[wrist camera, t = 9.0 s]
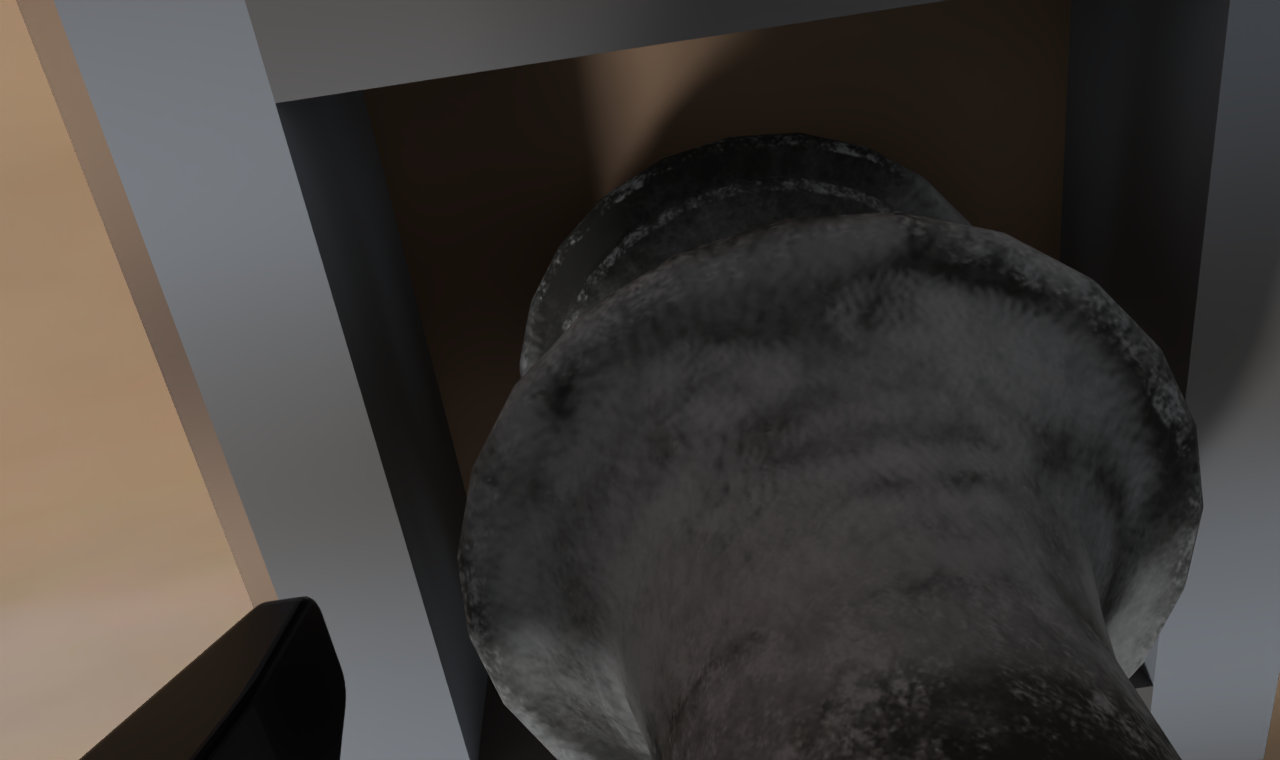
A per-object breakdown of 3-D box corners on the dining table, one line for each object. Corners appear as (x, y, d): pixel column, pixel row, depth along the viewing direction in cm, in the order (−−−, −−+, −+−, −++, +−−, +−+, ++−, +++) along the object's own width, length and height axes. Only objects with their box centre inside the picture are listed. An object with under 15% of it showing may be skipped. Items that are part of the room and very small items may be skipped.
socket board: (1216, 628, 17) (1390, 842, 13) (342, 752, 17) (279, 994, 13) (1376, -484, 10) (1799, -658, 7) (-32, -257, 11) (-345, -308, 7)
